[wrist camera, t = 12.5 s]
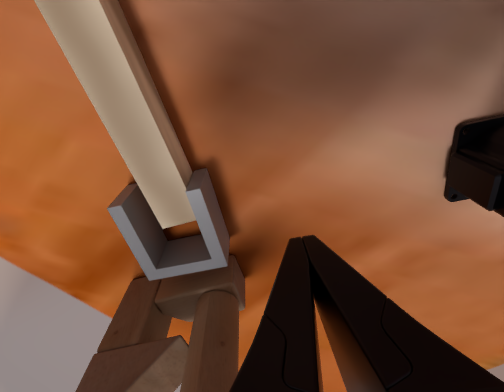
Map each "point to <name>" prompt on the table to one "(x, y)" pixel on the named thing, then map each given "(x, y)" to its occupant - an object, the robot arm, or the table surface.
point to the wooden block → (173, 348)
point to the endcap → (180, 250)
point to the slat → (124, 99)
